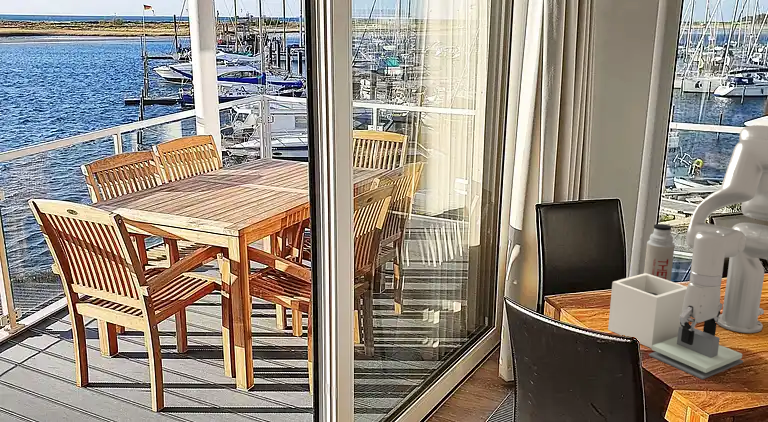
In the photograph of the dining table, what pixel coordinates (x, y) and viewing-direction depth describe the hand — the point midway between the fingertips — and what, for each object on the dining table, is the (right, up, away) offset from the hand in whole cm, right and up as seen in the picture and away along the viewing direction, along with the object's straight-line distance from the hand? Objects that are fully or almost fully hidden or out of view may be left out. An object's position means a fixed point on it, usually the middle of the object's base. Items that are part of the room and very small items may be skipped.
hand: (697, 339), depth 183 cm
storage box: (-7, -2, +18) cm, 19 cm away
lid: (0, -4, +1) cm, 4 cm away
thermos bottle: (+2, +2, +35) cm, 35 cm away
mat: (0, -6, +1) cm, 6 cm away
